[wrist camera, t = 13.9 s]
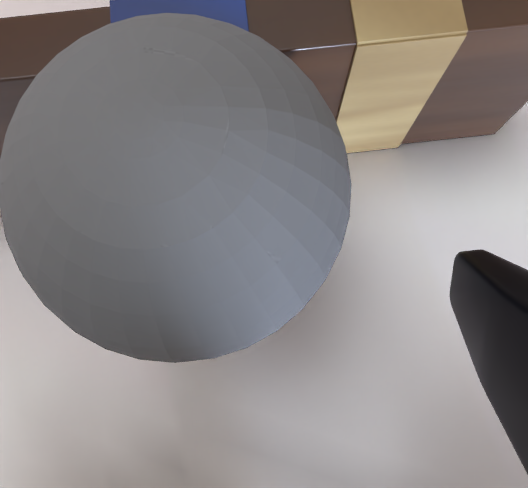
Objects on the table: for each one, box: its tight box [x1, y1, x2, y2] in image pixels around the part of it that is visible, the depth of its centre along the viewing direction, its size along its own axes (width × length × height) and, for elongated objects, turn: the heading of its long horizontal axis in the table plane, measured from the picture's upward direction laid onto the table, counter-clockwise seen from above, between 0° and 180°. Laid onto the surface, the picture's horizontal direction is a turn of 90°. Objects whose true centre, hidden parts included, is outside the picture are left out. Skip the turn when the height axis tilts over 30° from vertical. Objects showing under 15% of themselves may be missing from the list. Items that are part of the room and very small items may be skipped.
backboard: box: [0, 0, 528, 158], centre depth 14 cm, size 5×19×6 cm, turn 96°
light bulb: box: [0, 13, 351, 363], centre depth 11 cm, size 6×6×10 cm
